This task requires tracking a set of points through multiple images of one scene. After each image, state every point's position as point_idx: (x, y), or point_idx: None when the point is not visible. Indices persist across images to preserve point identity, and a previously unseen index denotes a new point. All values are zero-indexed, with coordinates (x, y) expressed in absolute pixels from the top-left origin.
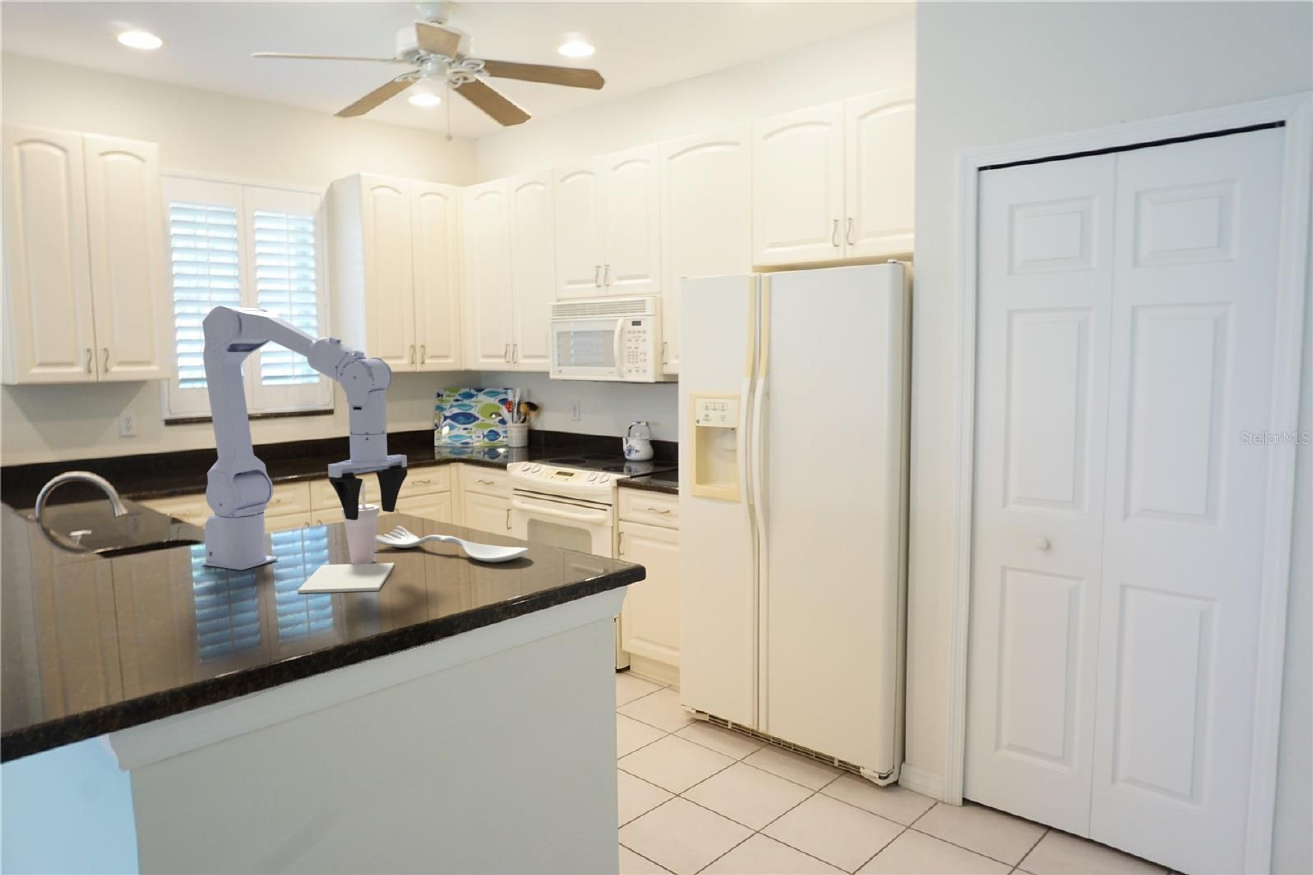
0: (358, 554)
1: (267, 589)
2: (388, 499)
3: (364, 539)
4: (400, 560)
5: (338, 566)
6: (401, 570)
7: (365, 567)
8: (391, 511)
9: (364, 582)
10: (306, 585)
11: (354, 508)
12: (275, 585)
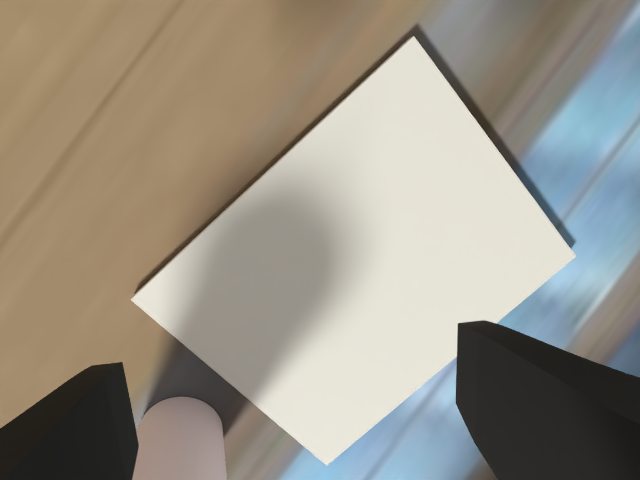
0: (213, 432)
1: None
2: (87, 467)
3: (188, 461)
4: (62, 345)
5: (304, 409)
6: (157, 214)
7: (251, 327)
8: (118, 365)
9: (397, 145)
10: (526, 281)
11: (552, 346)
12: None
